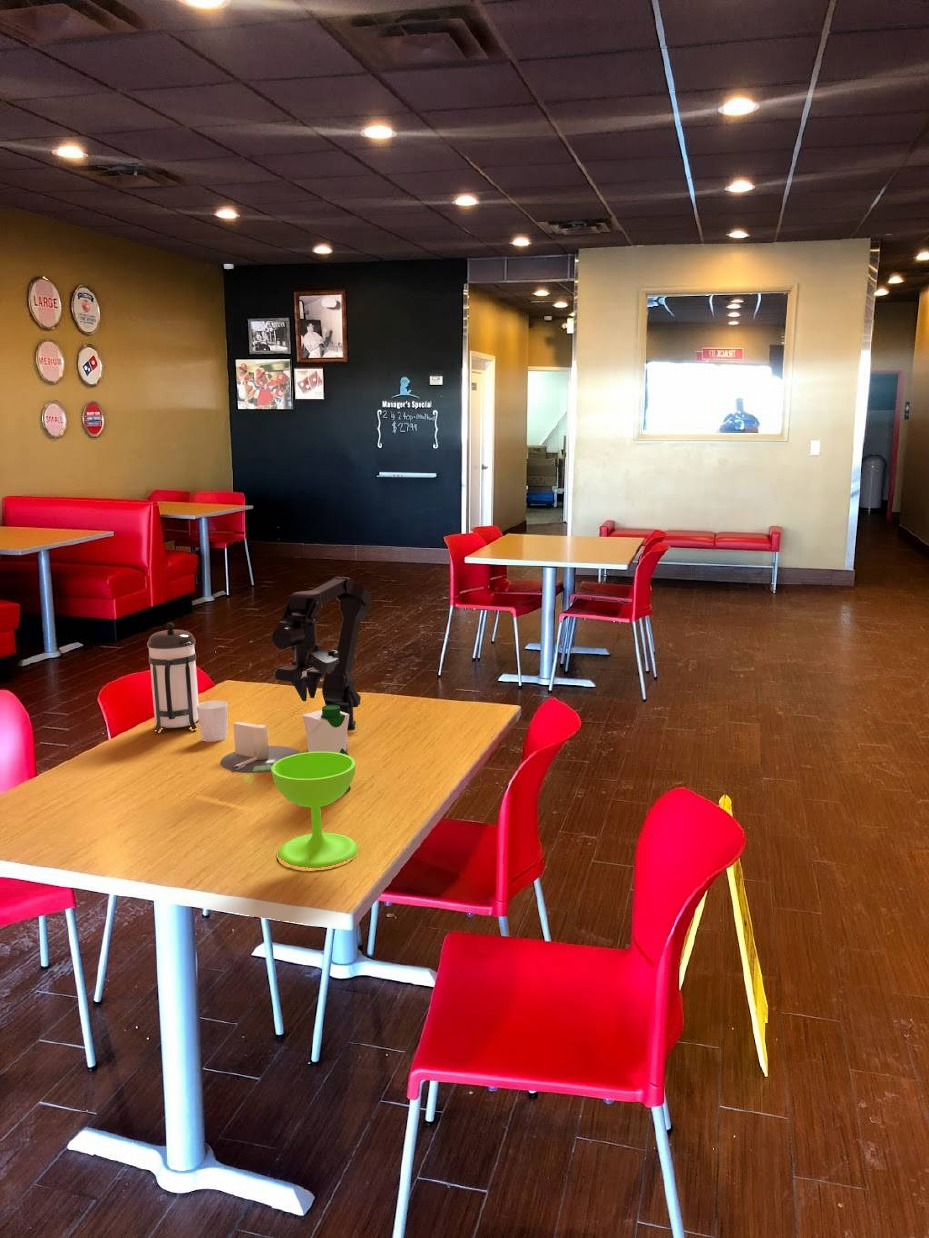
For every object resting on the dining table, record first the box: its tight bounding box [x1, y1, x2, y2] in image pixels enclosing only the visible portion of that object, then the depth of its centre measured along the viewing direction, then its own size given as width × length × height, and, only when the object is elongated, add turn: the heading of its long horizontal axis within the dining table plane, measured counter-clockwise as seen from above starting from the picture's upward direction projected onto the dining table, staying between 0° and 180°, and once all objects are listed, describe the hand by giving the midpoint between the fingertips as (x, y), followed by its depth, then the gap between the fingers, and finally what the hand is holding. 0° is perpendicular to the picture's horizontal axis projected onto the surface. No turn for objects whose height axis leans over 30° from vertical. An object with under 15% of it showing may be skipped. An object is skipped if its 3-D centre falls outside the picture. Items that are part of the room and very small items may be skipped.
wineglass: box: [270, 751, 359, 868], centre depth 185 cm, size 16×16×18 cm
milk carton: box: [301, 705, 352, 791], centre depth 218 cm, size 9×9×20 cm
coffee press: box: [146, 622, 199, 731], centre depth 265 cm, size 17×16×30 cm
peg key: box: [232, 721, 269, 769], centre depth 236 cm, size 10×12×8 cm
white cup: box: [197, 699, 229, 742], centre depth 256 cm, size 8×8×10 cm
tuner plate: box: [219, 745, 302, 774], centre depth 239 cm, size 20×20×1 cm
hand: (308, 699), depth 250 cm, fingers open, 3 cm apart
